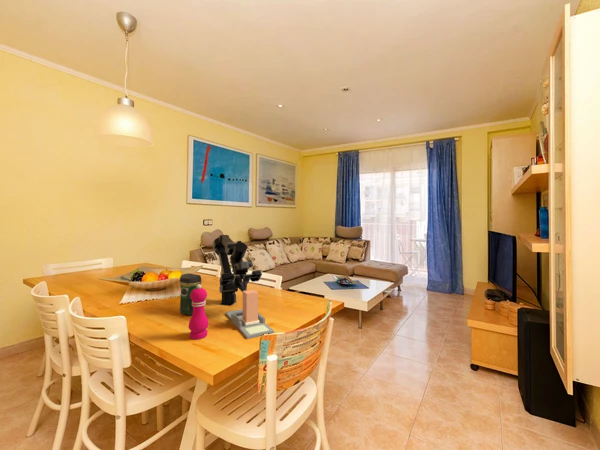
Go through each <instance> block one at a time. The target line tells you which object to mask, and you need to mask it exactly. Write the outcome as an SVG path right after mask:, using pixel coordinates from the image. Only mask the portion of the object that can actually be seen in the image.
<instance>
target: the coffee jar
mask: <svg viewBox="0 0 600 450" xmlns="http://www.w3.org/2000/svg"><path fill="white" fill-rule="evenodd" d="M201 276H202V275H200V274H196V273H195V274H194V273H182V274H181V275H180V277H179V285H180V286H179V287H180V302H179V313H180V314H183V315H184V316H192V314H193V306H192V301H193V300H192V299H191V298H190V295H191V292H192V291H193V290H194V289H196V286H197V285H198V284H200V285H201V286H202V277H201Z"/></svg>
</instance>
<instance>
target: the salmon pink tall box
mask: <svg viewBox="0 0 600 450" xmlns="http://www.w3.org/2000/svg"><path fill="white" fill-rule="evenodd" d="M242 309H243V318H242V319H241V321H242V323H243V324H244V325H245V326H248V325H253V324H258V323H259V320H258V313H259V292H258V291H257V290H255V289H248V290H247V291H243V292H242Z"/></svg>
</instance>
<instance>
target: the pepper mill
mask: <svg viewBox="0 0 600 450" xmlns="http://www.w3.org/2000/svg"><path fill="white" fill-rule="evenodd" d="M207 297H208V292H207V290H206V289H205V288H203V287H202V284H201V285H200V284H198V285H197V286H196V289H194V290H193V291H192V292H191V295H190V298H191V299H192V300H193V301H192V306H193V314H192V315H191V317H190V319H189V322H188V329H189V330H190V331H189V338H190V339H192V340H202V339H204V338H206V337H207V336H208V328H209V324H210V323H209V319H208V317H207V314H206V311H205V306H206V304H207V303H206V302H207V301H206V299H207Z"/></svg>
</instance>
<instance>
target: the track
mask: <svg viewBox="0 0 600 450" xmlns="http://www.w3.org/2000/svg"><path fill="white" fill-rule="evenodd" d="M225 316H227V317H228V319H230V321H231V322H232V323H233V324H234V325H235V326H236V328H237V329H238V330H239V331H240V333H241V334H243V336H244V337H245V338H246V339H247V340H249V339H253V338H258V337H262V336H261V335H262V334H267V333H271V334H274V333H275V331H274V329H273V328H272V327H270V326H269V325H268V324H267V323H266V318H265V317H264V316H263V315H262V314H261V313H259V312H258V320H259V323H258V324H253V325H248V326H245V325H244V324H243V323H242V321H241V319H242V318H243V308H242V309H241V308H240V309H236V310H229V311H226V312H225ZM267 335H268V334H267Z"/></svg>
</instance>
